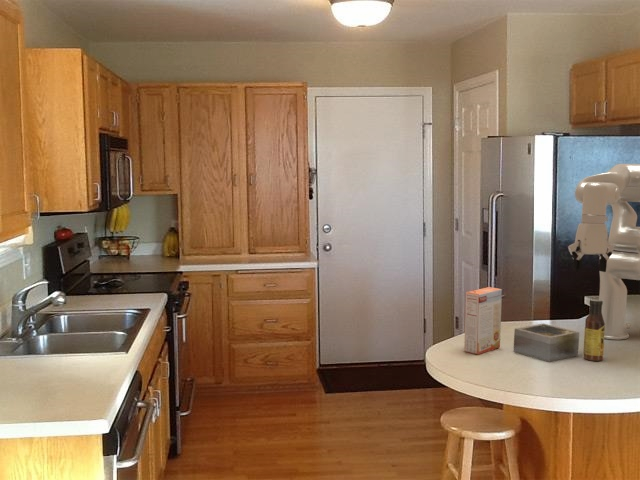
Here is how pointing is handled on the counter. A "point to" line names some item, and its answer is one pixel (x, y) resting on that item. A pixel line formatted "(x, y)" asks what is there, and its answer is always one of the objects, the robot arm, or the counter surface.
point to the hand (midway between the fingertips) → (589, 271)
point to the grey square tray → (546, 342)
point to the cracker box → (482, 320)
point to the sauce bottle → (594, 332)
